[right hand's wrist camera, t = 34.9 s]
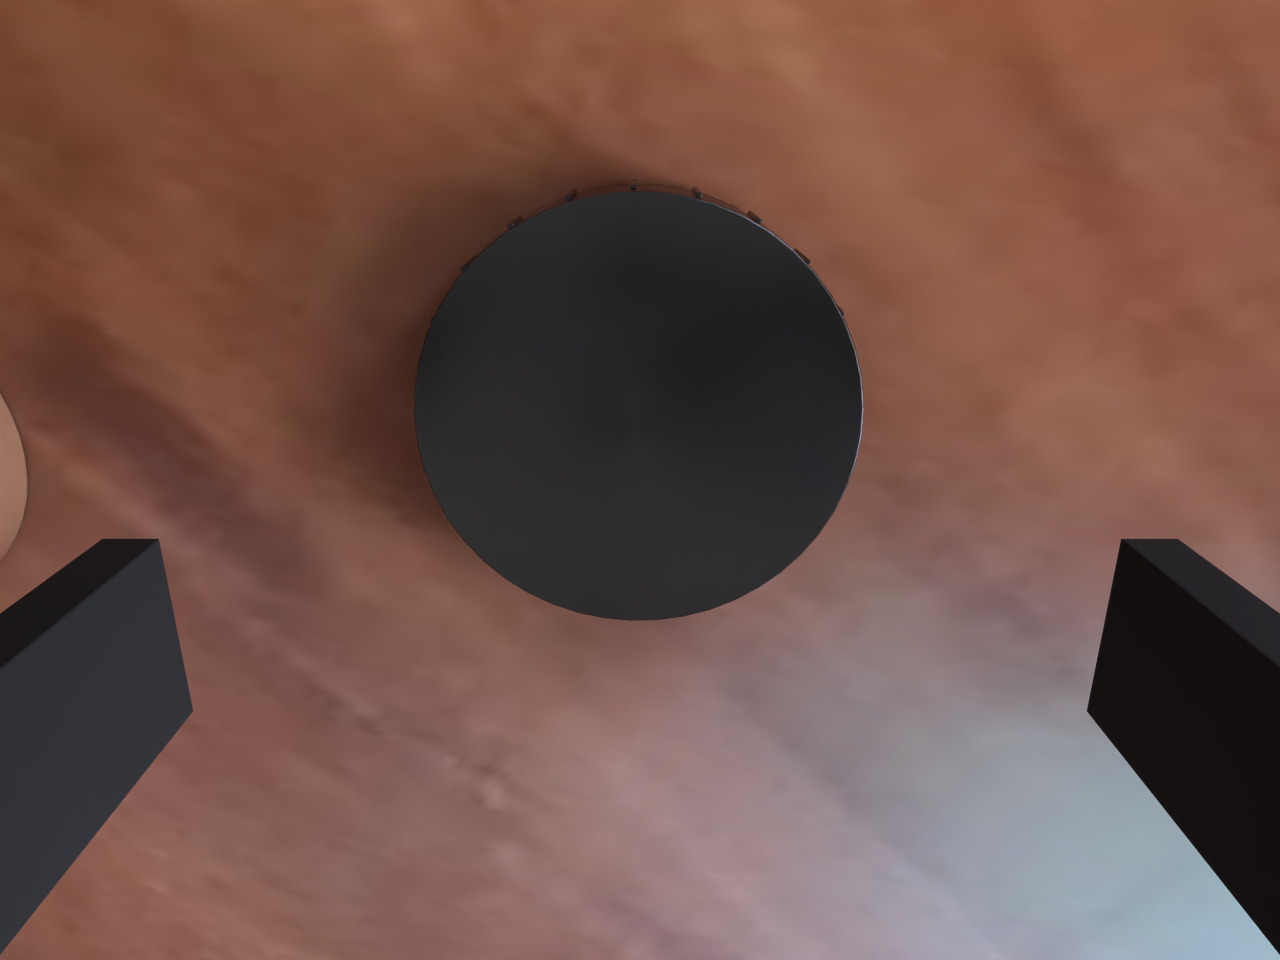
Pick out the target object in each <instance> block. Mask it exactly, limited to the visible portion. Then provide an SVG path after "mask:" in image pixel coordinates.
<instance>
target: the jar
mask: <svg viewBox="0 0 1280 960" xmlns="http://www.w3.org/2000/svg"><path fill="white" fill-rule="evenodd" d="M27 479H28V478H27V469H26V460H25V455H24V451H23V447H22V443H21V439H20V435H19V432H18V430H17V427H16V425H15V422H14V420H13V417H12V415H11V412H10V410H9V408H8V407H7V405H6V403H5V401H4V399H3V397H2V395H1V393H0V560H1V559H2V558H3V556H4V555H5V554H6V553H7V551H8V550H9V548H10V546H11V544H12V543H13V541H14V539H15V538H16V536H17V533H18V530H19V528H20V525H21V522H22V520H23V516H24V511H25V506H26V500H27Z"/></svg>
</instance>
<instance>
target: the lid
mask: <svg viewBox="0 0 1280 960" xmlns="http://www.w3.org/2000/svg"><path fill="white" fill-rule="evenodd" d="M761 222H762V219H760V218H759V217H758V216H757V215H755V214H754V213H753V212H751V211H750V210H749V212H748V213H747V214H746V213H744V212H743V211H741V210H739V209H737V208H736V207H734V206H732V205H730V204H728V203H725V202H723V201H720V200H718V199H715V198H713V197H711V196H708V195H706V194H702V192H701V191H700V190H699V189H698V188H696V187H693V188H692V191H690V190H687V189H683V188H679V187H672V186H663V185H654V184H637V180H632V181H631V184H619V185H613V186H607V187H601V188H595V189H589V190H586V191H583V192H580V193H577V191H576V189H575V190H572V191H570V192H569V193H568V194H567V195H566V197H564V198H561V199H559V200H557V201H555V202H553V203H551V204H548V205H546V206H544V207H542V208H540V209H538V210H536V211H534V212H533V213H531V214H530V215H528V216H527V217H525V218H524V219H523V218H522V216H521V215H520V216H519V217H517V218H516V219H515V220H513V221H512V222H511V223H510V224H508V225H507V226H508V228H509V229H508V230H507V231H506V232H504V233H503V234H502V235H501V236H500V237H498V238H497V239H496V240H495V241H494V242H493V243H492V244H490V245H489V246H488V247H487V248H486V249H485V250H483V251H482V252H481V253H480V254H479V255H478V256H477V255H476V256H474V257H473V258H472V259H471V260H470V261H468V262H467V263H466V264H465V265H463V267H462V268H461V270H462V271H463V273H462V274H461V275H460V276H459V277H458V278H457V279H456V281H455V283H454V284H453V286H452V287H451V289H450V290H449V292H448V293H447V295H446V296H445V298H444V299H443V301H442V303H441V304H440V306H439V308H438V310H437V312H436V315H434V316H433V317H432V318H431V320H430V323H431V325H430V327H429V330H428V332H427V335H426V338H425V342H424V345H423V348H422V351H421V355H420V358H419V363H418V370H417V376H416V382H415V397H414V419H415V427H416V435H417V444H418V448H419V451H420V455H421V459H422V463H423V467H424V471H425V473H426V475H427V478H428V480H429V483H430V485H431V488H432V490H433V493H434V495H435V497H436V499H437V501H438V502H439V504H440V506H441V508H442V509H443V511H444V513H445V515H446V516H447V518H448V520H449V521H450V523H451V524H452V525H453V527H454V528H455V529H456V531H457V532H458V533H459V535H460V536H461V537H462V539H463V540H464V541H465V542H466V543H467V544H468V545H469V547H470V548H471V549H472V550H473V551H474V552H475V553H476V554H477V555H478V556H479V557H480V558H481V559H482V560H483V561H484V562H485V563H487V564H488V565H489V566H490V567H492V568H493V569H494V570H495V571H496V572H498V573H499V574H500V575H501V576H503V577H504V578H505V579H507V580H508V581H510V582H512V583H513V584H515V585H516V586H518V587H520V588H521V589H523V590H524V591H526V592H528V593H530V594H532V595H534V596H536V597H538V598H540V599H543V600H545V601H547V602H549V603H551V604H554V605H557V606H560V607H563V608H566V609H569V610H572V611H575V612H578V613H582V614H587V615H592V616H597V617H601V618H609V619H620V620H660V619H668V618H675V617H682V616H687V615H691V614H695V613H699V612H703V611H707V610H710V609H713V608H715V607H718V606H721V605H723V604H726V603H728V602H731V601H734V600H736V599H738V598H740V597H742V596H744V595H745V594H747V593H749V592H751V591H753V590H755V589H757V588H759V587H760V586H762V585H763V584H765V583H766V582H767V581H769V580H770V579H772V578H773V577H775V576H776V575H778V574H779V573H781V572H782V571H783V570H784V569H785V568H786V567H787V566H789V565H790V564H791V563H792V562H793V561H794V560H795V559H796V558H798V557H799V556H800V555H801V554H802V553H803V552H804V551H805V549H806V548H807V547H808V546H809V545H810V544H811V543H812V542H813V540H814V539H815V538H816V537H817V536H818V535H819V533H820V532H821V530H822V529H823V528H824V526H825V525H826V523H827V522H828V520H829V519H830V517H831V516H832V514H833V513H834V511H835V509H836V507H837V506H838V504H839V502H840V500H841V498H842V496H843V494H844V492H845V490H846V488H847V485H848V482H849V480H850V477H851V474H852V471H853V468H854V465H855V463H856V459H857V454H858V449H859V444H860V440H861V435H862V422H863V408H864V404H863V389H862V376H861V370H860V367H859V362H858V357H857V352H856V348H855V346H854V343H853V340H852V337H851V335H850V332H849V329H848V326H847V323H846V321H845V319H844V317H843V315H844V312H843V310H842V309H841V308H840V307H839V306H838V305H837V304H836V302H835V300H834V298H833V296H832V295H831V293H830V292H829V291H828V289H827V288H826V287H825V285H824V284H823V282H822V281H821V280H820V278H819V277H818V276H817V274H816V273H815V271H814V270H813V269H812V268H811V267H810V266H809V265H808V264H809V263H810V262H811V261H810V260H809V259H808V258H807V257H806V256H804V255H803V254H802V253H801V252H800V251H798V250H797V249H796V248H795V249H794V250H793V249H792V248H791V247H790V246H789V245H788V244H786V243H785V242H784V241H783V240H782V239H780V238H779V237H778V236H777V235H775V234H774V233H773V232H772V231H770V230H769V229H768V228H767V227H765V226H764V225H763V224H761Z"/></svg>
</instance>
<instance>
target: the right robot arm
mask: <svg viewBox="0 0 1280 960" xmlns="http://www.w3.org/2000/svg"><path fill="white" fill-rule="evenodd" d="M192 712H193V708H192V703H191V698H190V693H189V688H188V683H187V678H186V673H185V668H184V663H183V658H182V653H181V648H180V643H179V638H178V633H177V628H176V623H175V618H174V613H173V608H172V603H171V598H170V593H169V588H168V583H167V578H166V573H165V568H164V563H163V558H162V553H161V548H160V543H159V539H102V540H100V541H99V542H98V543H96V544H95V545H94V546H92V547H91V548H89V549H88V550H87V551H85V552H84V553H83V554H81V555H80V556H79V557H77V558H76V559H74V560H73V561H72V562H70V563H69V564H68V565H66V566H65V567H63V568H62V569H61V570H59V571H58V572H57V573H55V574H54V575H53V576H51V577H50V578H48V579H47V580H46V581H44V582H43V583H42V584H40V585H39V586H37V587H36V588H35V589H33V590H32V591H31V592H29V593H28V594H27V595H25V596H24V597H22V598H21V599H20V600H18V601H17V602H16V603H14V604H13V605H11V606H10V607H9V608H7V609H6V610H5V611H3V612H2V613H0V954H1V953H2V952H3V950H4V949H5V948H6V947H7V945H8V944H9V943H10V942H11V940H12V939H13V938H14V937H15V935H16V934H17V933H18V932H19V930H20V929H21V928H22V926H23V925H24V924H25V923H26V921H27V920H28V919H29V918H30V916H31V915H32V914H33V913H34V911H35V910H36V909H37V908H38V906H39V905H40V904H41V902H42V901H43V900H44V899H45V897H46V896H47V895H48V894H49V892H50V891H51V890H52V889H53V887H54V886H55V885H56V884H57V882H58V881H59V880H60V878H61V877H62V876H63V875H64V873H65V872H66V871H67V870H68V868H69V867H70V866H71V865H72V863H73V862H74V861H75V860H76V858H77V857H78V856H79V854H80V853H81V852H82V851H83V849H84V848H85V847H86V846H87V844H88V843H89V842H90V841H91V839H92V838H93V837H94V836H95V834H96V833H97V832H98V830H99V829H100V828H101V827H102V825H103V824H104V823H105V822H106V820H107V819H108V818H109V817H110V815H111V814H112V813H113V812H114V810H115V809H116V808H117V806H118V805H119V804H120V803H121V801H122V800H123V799H124V798H125V796H126V795H127V794H128V793H129V791H130V790H131V789H132V788H133V786H134V785H135V784H136V782H137V781H138V780H139V779H140V777H141V776H142V775H143V774H144V772H145V771H146V770H147V769H148V767H149V766H150V765H151V764H152V762H153V761H154V760H155V758H156V757H157V756H158V755H159V753H160V752H161V751H162V750H163V748H164V747H165V746H166V745H167V743H168V742H169V741H170V740H171V738H172V737H173V736H174V734H175V733H176V732H177V731H178V729H179V728H180V727H181V726H182V724H183V723H184V722H185V721H186V719H187V718H188V717H189V716H190V714H191V713H192ZM1087 712H1088V713H1089V714H1090V716H1091V717H1092V718H1093V719H1094V721H1095V722H1096V723H1097V724H1098V726H1099V727H1100V728H1101V729H1102V731H1103V732H1104V733H1105V734H1106V736H1107V737H1108V738H1109V740H1110V741H1111V742H1112V743H1113V745H1114V746H1115V747H1116V748H1117V750H1118V751H1119V752H1120V753H1121V755H1122V756H1123V757H1124V758H1125V760H1126V761H1127V762H1128V764H1129V765H1130V766H1131V767H1132V769H1133V770H1134V771H1135V772H1136V774H1137V775H1138V776H1139V777H1140V779H1141V780H1142V781H1143V782H1144V784H1145V785H1146V786H1147V788H1148V789H1149V790H1150V791H1151V793H1152V794H1153V795H1154V796H1155V798H1156V799H1157V800H1158V801H1159V803H1160V804H1161V805H1162V806H1163V808H1164V809H1165V810H1166V812H1167V813H1168V814H1169V815H1170V817H1171V818H1172V819H1173V820H1174V822H1175V823H1176V824H1177V825H1178V827H1179V828H1180V829H1181V830H1182V832H1183V833H1184V834H1185V836H1186V837H1187V838H1188V839H1189V841H1190V842H1191V843H1192V844H1193V846H1194V847H1195V848H1196V849H1197V851H1198V852H1199V853H1200V854H1201V856H1202V857H1203V858H1204V860H1205V861H1206V862H1207V863H1208V865H1209V866H1210V867H1211V868H1212V870H1213V871H1214V872H1215V873H1216V875H1217V876H1218V877H1219V878H1220V880H1221V881H1222V882H1223V884H1224V885H1225V886H1226V887H1227V889H1228V890H1229V891H1230V892H1231V894H1232V895H1233V896H1234V897H1235V899H1236V900H1237V901H1238V902H1239V904H1240V905H1241V906H1242V908H1243V909H1244V910H1245V911H1246V913H1247V914H1248V915H1249V916H1250V918H1251V919H1252V920H1253V921H1254V923H1255V924H1256V925H1257V926H1258V928H1259V929H1260V930H1261V932H1262V933H1263V934H1264V935H1265V937H1266V938H1267V939H1268V940H1269V942H1270V943H1271V944H1272V945H1273V947H1274V948H1275V949H1276V950H1277V952H1278V953H1279V954H1280V613H1278V612H1277V611H1275V610H1274V609H1273V608H1271V607H1270V606H1269V605H1267V604H1266V603H1264V602H1263V601H1262V600H1260V599H1259V598H1258V597H1256V596H1255V595H1253V594H1252V593H1251V592H1249V591H1248V590H1247V589H1245V588H1244V587H1243V586H1241V585H1240V584H1238V583H1237V582H1236V581H1234V580H1233V579H1232V578H1230V577H1229V576H1227V575H1226V574H1225V573H1223V572H1222V571H1221V570H1219V569H1218V568H1217V567H1215V566H1214V565H1212V564H1211V563H1210V562H1208V561H1207V560H1206V559H1204V558H1203V557H1201V556H1200V555H1199V554H1197V553H1196V552H1195V551H1193V550H1192V549H1191V548H1189V547H1188V546H1186V545H1185V544H1184V543H1182V542H1181V541H1180V540H1178V539H1121V543H1120V548H1119V553H1118V558H1117V563H1116V568H1115V573H1114V578H1113V583H1112V588H1111V593H1110V598H1109V603H1108V608H1107V613H1106V618H1105V623H1104V628H1103V633H1102V638H1101V643H1100V648H1099V653H1098V658H1097V663H1096V668H1095V673H1094V678H1093V683H1092V688H1091V693H1090V698H1089V703H1088V708H1087Z"/></svg>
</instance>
